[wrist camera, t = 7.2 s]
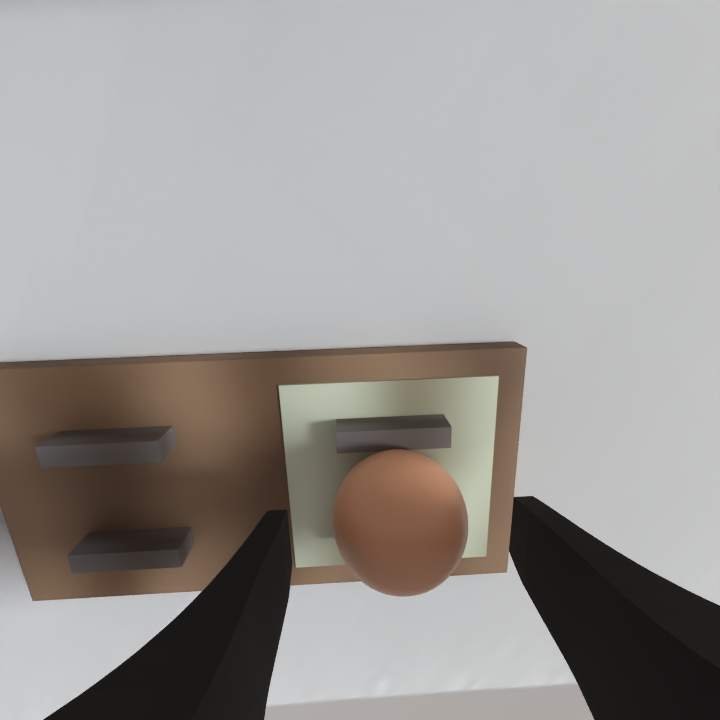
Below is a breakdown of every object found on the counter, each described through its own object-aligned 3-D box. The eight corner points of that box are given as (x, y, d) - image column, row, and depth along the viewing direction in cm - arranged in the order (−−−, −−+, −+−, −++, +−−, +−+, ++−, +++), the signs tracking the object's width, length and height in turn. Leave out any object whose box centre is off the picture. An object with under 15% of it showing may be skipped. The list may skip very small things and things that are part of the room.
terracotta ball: (382, 545, 15) (397, 657, 11) (310, 474, 14) (296, 567, 10) (469, 483, 15) (521, 576, 10) (400, 404, 13) (426, 472, 9)
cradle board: (51, 580, 16) (7, 628, 14) (-18, 363, 14) (-84, 382, 12) (497, 554, 17) (519, 596, 15) (514, 341, 14) (544, 356, 12)
